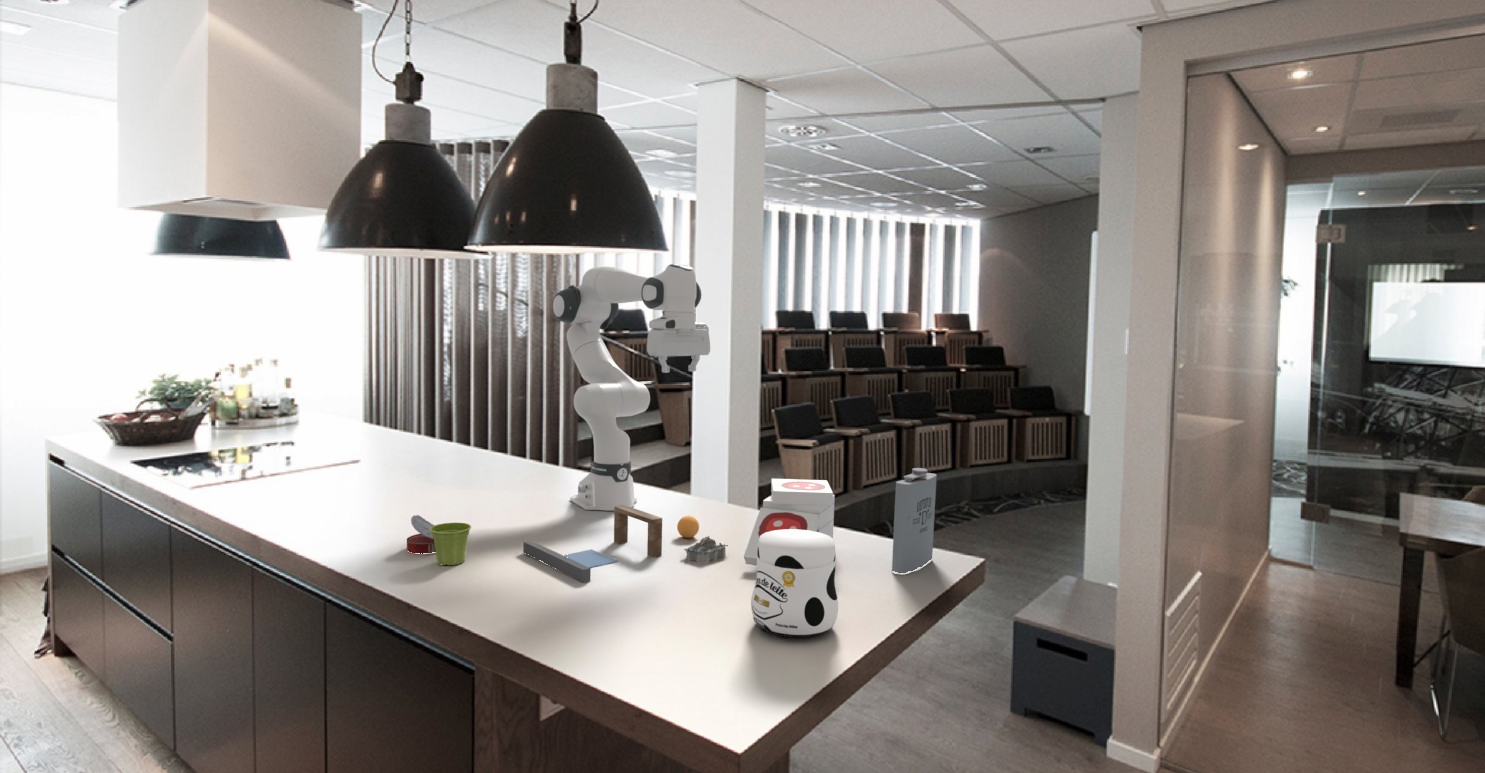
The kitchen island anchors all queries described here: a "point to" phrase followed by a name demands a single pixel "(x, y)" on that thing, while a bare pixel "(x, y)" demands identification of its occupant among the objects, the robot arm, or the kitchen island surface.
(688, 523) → the ball
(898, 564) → the flask
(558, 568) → the stopper wall
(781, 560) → the milk container
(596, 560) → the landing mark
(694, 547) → the egg carton
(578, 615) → the kitchen island surface
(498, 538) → the kitchen island surface
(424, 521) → the canned food
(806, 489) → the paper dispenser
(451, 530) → the plant pot
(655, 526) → the bridge
